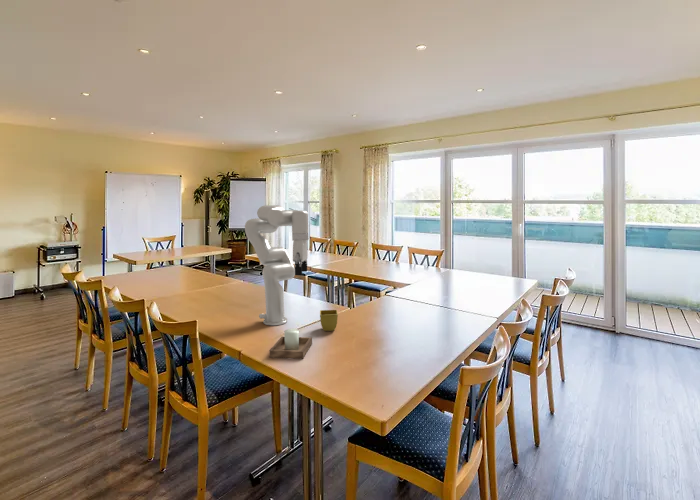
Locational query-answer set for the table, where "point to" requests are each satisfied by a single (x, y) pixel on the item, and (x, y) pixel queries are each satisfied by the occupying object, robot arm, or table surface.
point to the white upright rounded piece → (291, 339)
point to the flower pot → (328, 319)
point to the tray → (280, 351)
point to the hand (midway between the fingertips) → (301, 273)
